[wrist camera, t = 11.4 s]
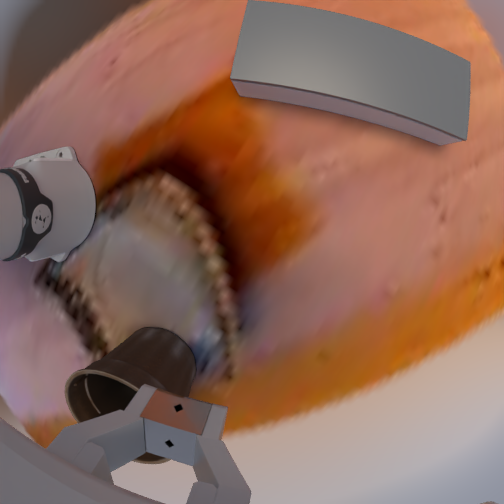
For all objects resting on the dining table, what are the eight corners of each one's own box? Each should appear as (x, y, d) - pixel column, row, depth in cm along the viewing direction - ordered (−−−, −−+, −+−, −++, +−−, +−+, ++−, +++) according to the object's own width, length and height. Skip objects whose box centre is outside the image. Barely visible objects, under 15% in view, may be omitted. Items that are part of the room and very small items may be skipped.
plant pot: (182, 412, 48) (152, 478, 32) (107, 362, 47) (57, 414, 31) (228, 354, 44) (202, 428, 28) (138, 294, 43) (76, 343, 28)
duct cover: (231, 80, 29) (230, 78, 29) (249, 3, 26) (248, 0, 26) (463, 140, 28) (466, 140, 27) (467, 63, 25) (470, 62, 24)
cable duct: (239, 95, 36) (232, 81, 30) (254, 28, 33) (249, 6, 27) (440, 145, 34) (461, 141, 28) (444, 77, 31) (464, 65, 25)
